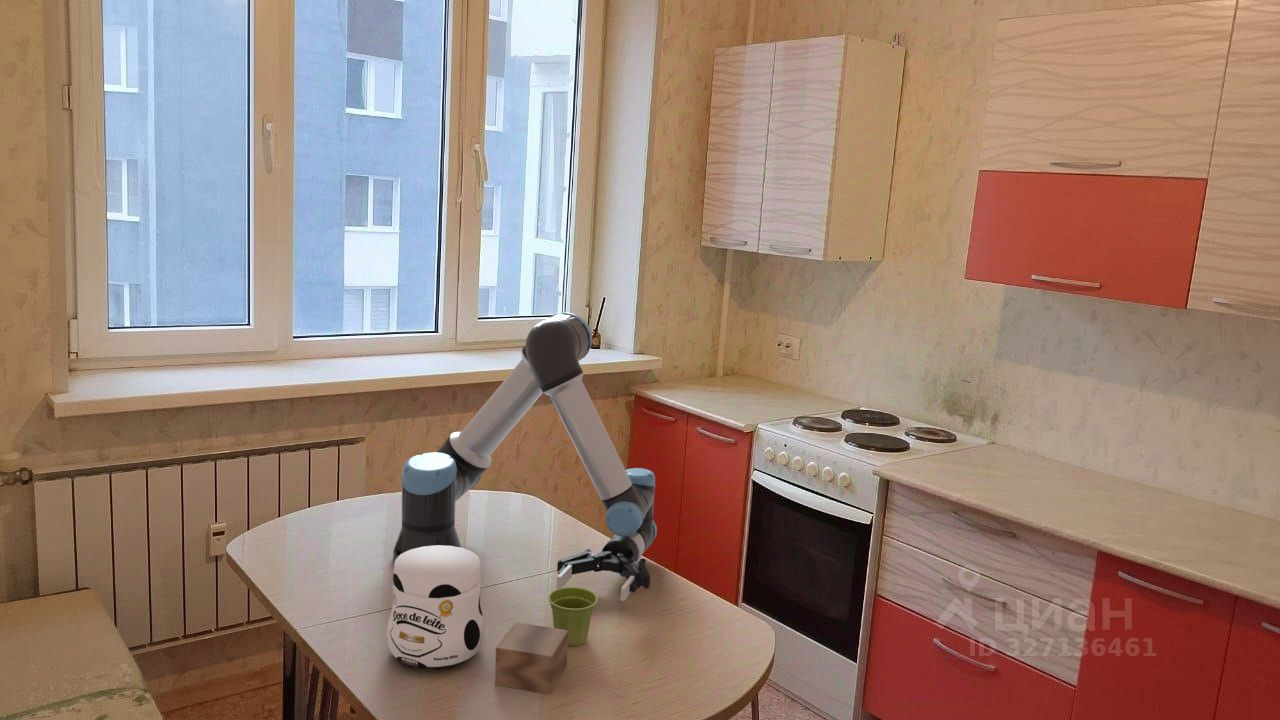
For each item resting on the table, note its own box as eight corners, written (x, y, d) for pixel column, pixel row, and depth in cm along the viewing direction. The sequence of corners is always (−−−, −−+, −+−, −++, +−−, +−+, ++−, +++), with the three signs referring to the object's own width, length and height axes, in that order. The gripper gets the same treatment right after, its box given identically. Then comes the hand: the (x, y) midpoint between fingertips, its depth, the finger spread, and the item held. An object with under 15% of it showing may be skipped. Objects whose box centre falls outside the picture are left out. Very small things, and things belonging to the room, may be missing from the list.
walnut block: (494, 684, 168) (496, 647, 167) (514, 657, 178) (515, 622, 176) (550, 694, 166) (551, 656, 165) (566, 666, 176) (568, 630, 174)
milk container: (388, 682, 167) (389, 584, 163) (385, 635, 183) (386, 545, 180) (489, 673, 172) (492, 578, 168) (477, 628, 188) (480, 540, 185)
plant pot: (605, 637, 187) (607, 596, 186) (576, 656, 179) (578, 613, 178) (566, 623, 192) (568, 582, 190) (536, 641, 184) (538, 598, 182)
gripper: (676, 576, 211) (649, 617, 191) (569, 558, 218) (531, 595, 198) (678, 544, 210) (651, 581, 190) (570, 526, 216) (533, 560, 196)
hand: (590, 588), depth 194 cm, fingers open, 13 cm apart
